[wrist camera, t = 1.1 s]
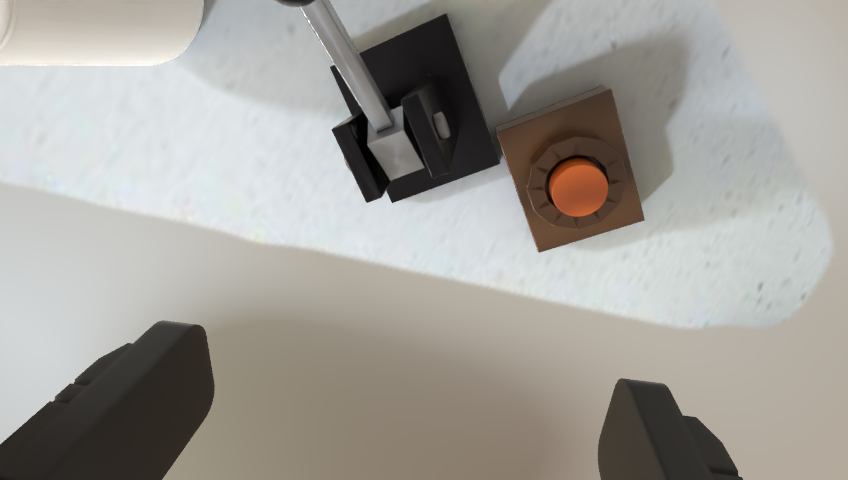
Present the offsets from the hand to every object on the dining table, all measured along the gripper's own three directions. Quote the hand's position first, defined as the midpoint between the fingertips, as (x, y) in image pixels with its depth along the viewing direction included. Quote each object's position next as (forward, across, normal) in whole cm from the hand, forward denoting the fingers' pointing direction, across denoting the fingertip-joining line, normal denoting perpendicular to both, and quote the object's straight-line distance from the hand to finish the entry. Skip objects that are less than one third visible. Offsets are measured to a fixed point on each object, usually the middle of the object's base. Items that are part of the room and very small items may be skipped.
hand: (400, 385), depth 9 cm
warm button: (+25, -8, +3) cm, 27 cm away
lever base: (+29, +3, 0) cm, 29 cm away
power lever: (+18, +6, -5) cm, 20 cm away
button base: (+29, -8, +3) cm, 30 cm away
